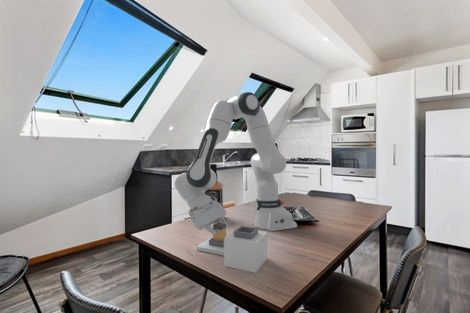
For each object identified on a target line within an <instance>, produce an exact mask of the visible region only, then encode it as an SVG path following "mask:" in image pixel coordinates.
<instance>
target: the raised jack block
mask: <svg viewBox="0 0 470 313" xmlns="http://www.w3.org/2000/svg"><path fill="white" fill-rule="evenodd" d="M267 259H268V231H260V230H259V228H257V227H252V226H245V225H241V226H239V227H238V228H236V229H235V230H233V231H232V232H230V233H229V234H228V235H226V237H225V238H224V256H223V266H224V267H227V268H233V269H236V270H240V271H244V272H245V271H246V272H250V273H255V274H256V273H257V272H258V271H259V270H260V269H261V268H262V266H263V265H264V263H265V262H266V261H267Z"/></svg>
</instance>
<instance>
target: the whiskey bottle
mask: <svg viewBox="0 0 470 313" xmlns="http://www.w3.org/2000/svg"><path fill="white" fill-rule="evenodd" d="M217 166H218V165H217V164H216V163H210V169H212V170H213V171H214V172H215V174H216V176H217V177H218V172H217V171H218V170H217V168H218V167H217ZM223 188H224V184H223V183H221V182H220V181H218V180H217V181H216V183H215V185H214V186H213V187H211V188H210V189H208V190H207V191H205V192H204V193H205V194H206V196H207V195H208V196H212V197H215V198H216V199H217V202H219V203H220V204H221V206H222V207H223V208H224V205H223V204H224V201H223V200H224V199H223V196H224V195H223ZM217 222H220V221H219V220H218V221H217Z"/></svg>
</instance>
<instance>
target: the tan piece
mask: <svg viewBox="0 0 470 313" xmlns="http://www.w3.org/2000/svg"><path fill="white" fill-rule="evenodd" d="M212 228H213V229H216V231H217V233H216V234H215V235H212V236H213V240H215V241H221V242H223V241H224V238H225V237H226V236H227V227H226V224H224V223H221V222H215V223H213V224H212Z"/></svg>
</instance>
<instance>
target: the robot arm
mask: <svg viewBox="0 0 470 313" xmlns="http://www.w3.org/2000/svg"><path fill="white" fill-rule="evenodd" d="M242 118H243V120H244V121H245V123H246V128H247V132H248V135H249V139H250V143H251V145H252V147H253V148H254V149H255V151H256V153H254V154H253V155H252V156H251V157H250V166H251V167H252V170H253V172H254V177H255V182H256V200H255V209H256V213H255V220H254V224H253V226H254V228H258V229H262V230H267V231H272V232H275V231H282V230H283V231H284V230H289V229H296V228H298V224H297V222H296V221H294V220H293V215H292V213H291V212H290V211H289V210H287V208H285V207H283V205H285V201H284V200H281V199H280V198H279V184H278V182H277V181H276V179H275V174H280V173H282V172H284V171H285V169H286V166H287V160H286V158H285V156H283V154H282V153H281V152H280V151H279V149H278V147H277V145H276V144H275V141H274V139H273V135H272V133H271V128H270V125H269V122H268V117H267V115H266V113H265V111H264V109H263V107H262V106H261V105H260V101H259V99H258V97H257V96H256V95H255V93H253V92H250V91H249V92H248V91H246V92H242V93H239V94H236V95H234V96H232V97H230V98H228V99H227V100H218V101H216V102H215V103H214V105H213V107H212V108H211V110H210V114H209V116H208V119H207V123H206V126H205V131H204V133H203V135H202V138H201V140H200V144H199V147H198V149H197V152H196V155H195V158H194V159H193V161H192V162H191V164H190V165H189V166H188V167H187V171H186V172H182V173H181V174H179V175H178V176H177V177H176V179H175V181H174V187H175V190H176V191H177V193H178V195H179V196H180V197H181V198H182V200H184V201H185V203H186V204H187V206H188V207H189V210H188V215H189V217H190V218H189V219H190V220H191V222H192V223H193V225H194V226H195V228H196V229H197V230H199V231H201V230H204V229H205V231H208V232H209V233H211V235H212V236H213V235H215V234H216V233H217V231H216V229H213V226H212V225H214V224H215V223H217V222H219V223H224V224H226V228H228V226H229V225H228V223H227V222H226V219H225V216H226V215H227V211H226V210H225V208H224V206H223V207H222V206H221V204H220V203H219V202H217V199H216V198H215V197H212V196H208V195H207V196H206V194H205V193H204V192H205V191H207V190H208V189H210V188H211V187H213V186H214V185H215V183H216V181H218V175H217V176H216V174H215V172H214V171H213V170H212V169H210V164H211V160H212V158H213V155H214V152H215V148H216V147H217V145H218V144H221V143H223V142H225V141H227V138H228V136H229V134H230V131H231V128H232V123H233V120H237V119H238V120H239V119H242ZM218 220H219V221H218Z"/></svg>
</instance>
